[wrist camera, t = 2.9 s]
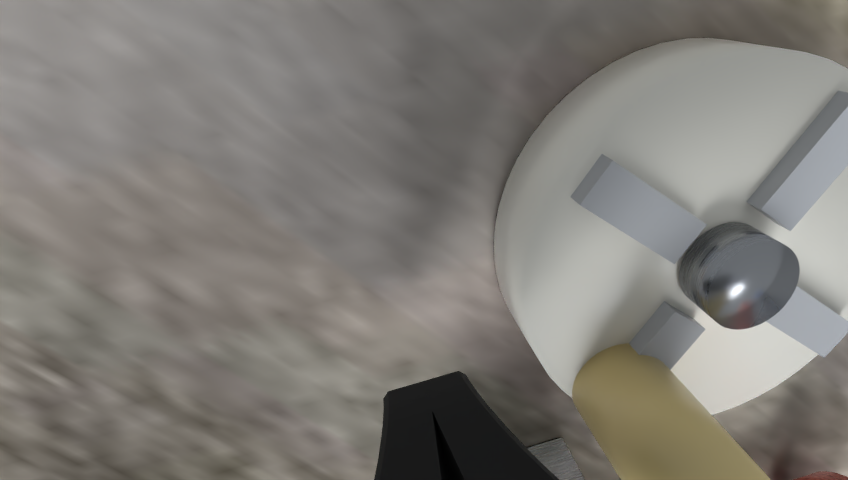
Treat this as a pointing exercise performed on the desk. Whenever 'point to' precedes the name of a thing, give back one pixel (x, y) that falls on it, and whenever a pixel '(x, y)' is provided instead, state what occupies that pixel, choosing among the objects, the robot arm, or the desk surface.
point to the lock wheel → (676, 242)
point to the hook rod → (823, 476)
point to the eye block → (557, 459)
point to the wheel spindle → (739, 275)
